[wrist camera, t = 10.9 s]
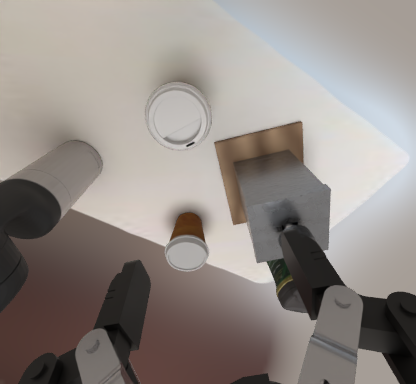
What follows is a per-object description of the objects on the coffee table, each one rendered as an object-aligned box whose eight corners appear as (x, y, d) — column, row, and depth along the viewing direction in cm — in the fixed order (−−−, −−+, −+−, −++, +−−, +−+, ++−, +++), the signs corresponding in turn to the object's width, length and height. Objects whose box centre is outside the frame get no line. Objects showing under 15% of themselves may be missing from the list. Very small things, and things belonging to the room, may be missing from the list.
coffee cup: (163, 130, 47) (150, 157, 34) (154, 78, 42) (134, 86, 29) (210, 126, 46) (214, 151, 33) (206, 73, 42) (209, 79, 29)
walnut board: (233, 222, 59) (233, 225, 58) (214, 142, 48) (214, 143, 47) (303, 207, 57) (304, 210, 57) (300, 121, 47) (302, 122, 46)
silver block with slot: (243, 216, 57) (259, 273, 42) (232, 161, 49) (246, 207, 34) (293, 206, 56) (327, 261, 41) (289, 148, 48) (330, 188, 33)
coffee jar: (257, 250, 64) (276, 314, 48) (270, 230, 61) (295, 291, 45) (286, 258, 66) (314, 321, 50) (301, 238, 63) (336, 300, 47)
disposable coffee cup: (205, 205, 56) (207, 238, 46) (208, 235, 61) (210, 271, 51) (167, 208, 56) (160, 242, 46) (173, 238, 61) (168, 274, 51)
